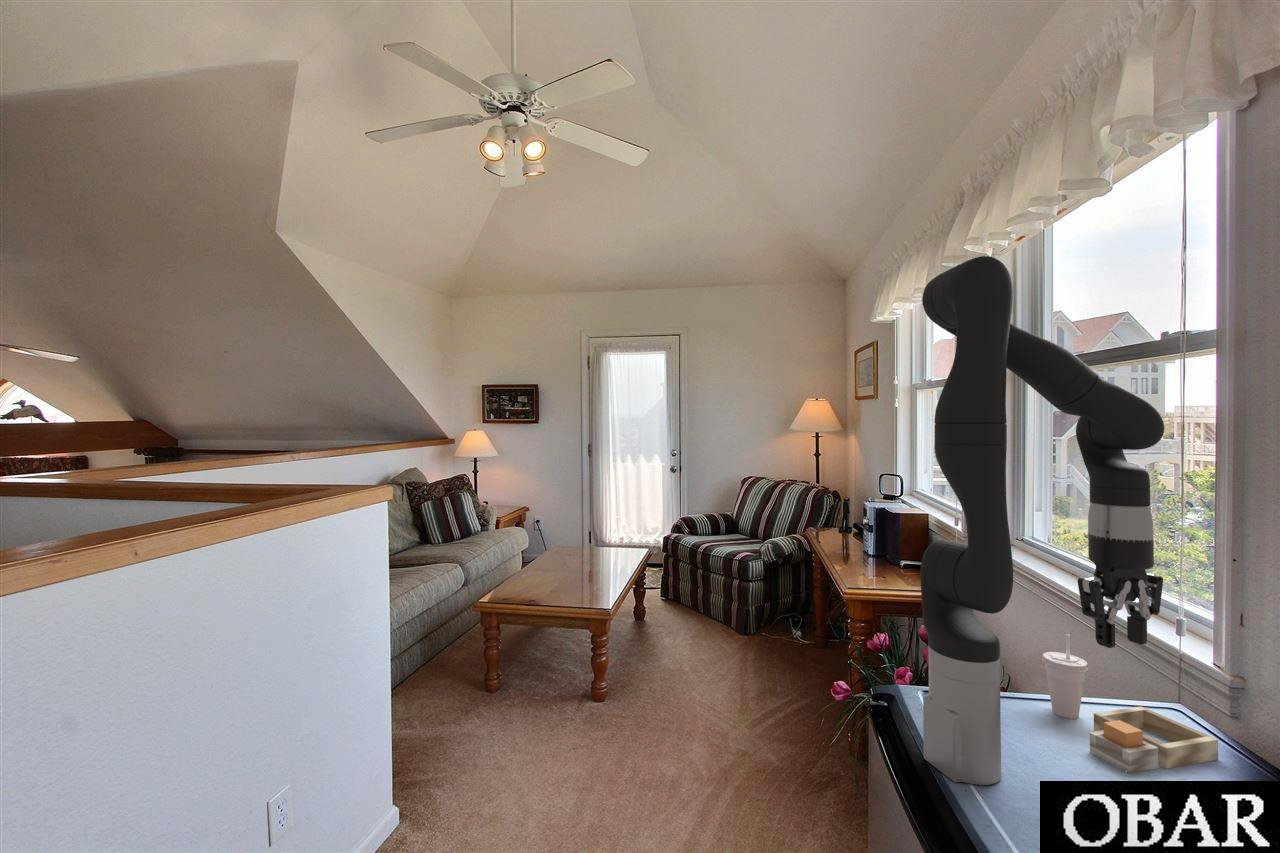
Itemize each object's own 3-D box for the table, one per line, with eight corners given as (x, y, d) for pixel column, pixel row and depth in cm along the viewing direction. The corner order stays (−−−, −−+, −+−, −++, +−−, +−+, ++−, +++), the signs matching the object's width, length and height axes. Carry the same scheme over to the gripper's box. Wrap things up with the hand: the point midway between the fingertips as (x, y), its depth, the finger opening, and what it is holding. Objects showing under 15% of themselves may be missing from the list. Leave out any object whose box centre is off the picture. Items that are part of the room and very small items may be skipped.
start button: (1126, 749, 81) (1126, 733, 81) (1103, 738, 84) (1103, 722, 84) (1142, 746, 82) (1142, 730, 82) (1119, 735, 85) (1119, 719, 85)
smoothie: (1097, 724, 93) (1096, 642, 93) (1054, 720, 94) (1053, 639, 94) (1075, 706, 99) (1074, 629, 99) (1035, 702, 100) (1034, 626, 100)
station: (1132, 775, 79) (1132, 754, 79) (1062, 736, 89) (1062, 718, 89) (1218, 759, 83) (1218, 739, 83) (1141, 724, 93) (1141, 706, 93)
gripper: (1109, 540, 78) (1111, 658, 78) (1184, 536, 81) (1186, 649, 81) (1058, 531, 85) (1060, 639, 85) (1129, 527, 88) (1130, 631, 88)
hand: (1121, 643), depth 83 cm, fingers open, 5 cm apart
